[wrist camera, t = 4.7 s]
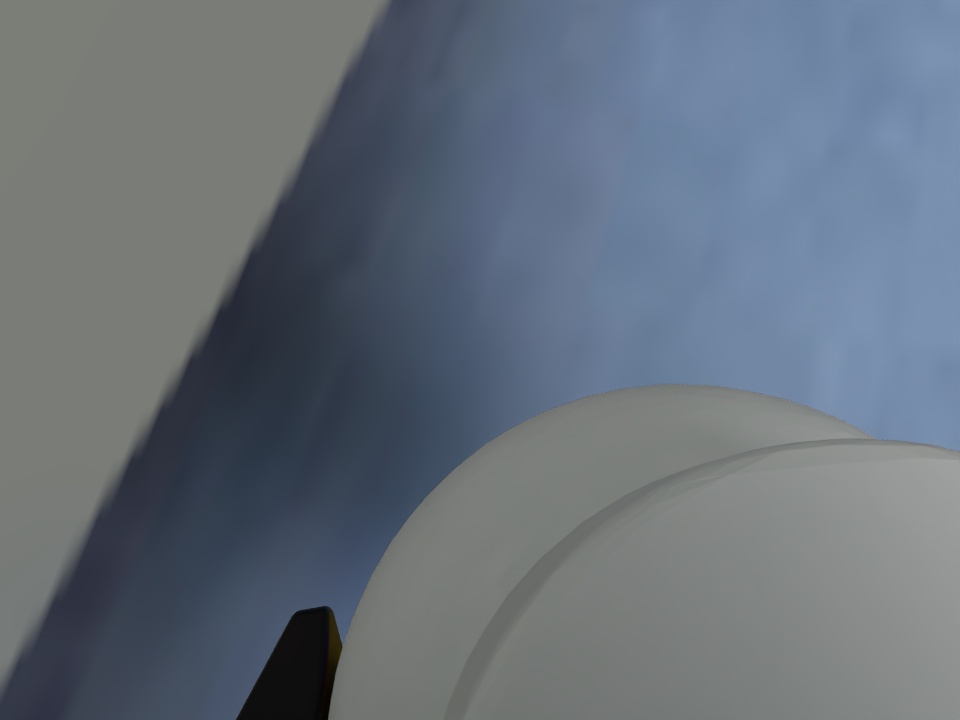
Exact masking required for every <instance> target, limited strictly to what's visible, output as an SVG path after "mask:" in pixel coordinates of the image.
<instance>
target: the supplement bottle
mask: <svg viewBox="0 0 960 720" xmlns="http://www.w3.org/2000/svg"><path fill="white" fill-rule="evenodd" d="M328 720H960V452H959V451H955V450H951V449H947V448H943V447H939V446H935V445H929V444H921V443H913V442H906V441H894V440H877V439H875V438H874V437H872V436H870V435H869V434H867V433H865V432H863V431H862V430H860V429H858V428H856V427H854V426H852V425H850V424H848V423H846V422H844V421H842V420H840V419H838V418H836V417H834V416H831V415H829V414H826V413H823V412H821V411H818V410H816V409H813V408H811V407H808V406H805V405H802V404H799V403H796V402H792V401H789V400H786V399H783V398H778V397H774V396H769V395H765V394H760V393H755V392H750V391H744V390H739V389H733V388H727V387H720V386H709V385H685V384H661V385H652V386H644V387H635V388H626V389H619V390H614V391H610V392H605V393H601V394H597V395H592V396H588V397H584V398H581V399H579V400H576V401H573V402H570V403H567V404H564V405H561V406H558V407H556V408H553V409H550V410H547V411H545V412H543V413H541V414H539V415H537V416H535V417H533V418H530V419H528V420H526V421H524V422H522V423H521V424H519V425H517V426H515V427H513V428H511V429H509V430H507V431H506V432H504V433H503V434H501V435H500V436H498V437H496V438H495V439H493V440H492V441H490V442H488V443H487V444H485V445H484V446H482V447H481V448H480V449H479V450H477V451H476V452H475V453H474V454H472V455H471V456H470V457H469V458H467V459H466V460H465V461H464V462H463V463H461V464H460V465H459V466H458V467H457V468H456V469H454V470H453V471H452V472H451V473H450V474H449V475H448V476H447V477H446V478H445V479H444V480H443V481H442V482H441V483H440V484H439V485H438V486H437V487H436V488H435V489H434V490H433V491H432V492H431V493H430V494H429V495H428V496H427V497H426V498H425V499H424V500H423V501H422V502H421V504H420V505H419V506H418V507H417V508H416V510H415V511H414V512H413V513H412V514H411V516H410V517H409V518H408V520H407V521H406V522H405V524H404V525H403V526H402V528H401V529H400V530H399V532H398V533H397V534H396V536H395V537H394V539H393V540H392V541H391V543H390V545H389V546H388V548H387V550H386V551H385V553H384V555H383V557H382V558H381V560H380V562H379V564H378V565H377V567H376V569H375V570H374V572H373V574H372V576H371V578H370V580H369V582H368V584H367V586H366V589H365V591H364V593H363V595H362V598H361V600H360V602H359V604H358V607H357V609H356V611H355V613H354V616H353V619H352V621H351V624H350V627H349V630H348V632H347V635H346V638H345V641H344V644H343V648H342V652H341V655H340V659H339V663H338V666H337V670H336V675H335V680H334V686H333V691H332V697H331V703H330V710H329V717H328Z"/></svg>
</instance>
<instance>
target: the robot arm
mask: <svg viewBox="0 0 960 720" xmlns="http://www.w3.org/2000/svg"><path fill="white" fill-rule="evenodd" d="M342 648H343V647H342V643H341V639H340V636H339V632H338V628H337V624H336V621H335V617H334V613H333V611H332V609H331V608H330V607H327V606H322V607H317V608H311V609H305V610H300V611H297V612H296V613H295V614H293V616H292V617H291V619H290V621H289V622H288V624H287V626H286V628H285V630H284V632H283V634H282V635H281V637H280V639H279V641H278V643H277V645H276V647H275V648H274V650H273V652H272V654H271V656H270V658H269V660H268V661H267V663H266V665H265V667H264V669H263V671H262V673H261V674H260V676H259V678H258V680H257V682H256V684H255V686H254V687H253V689H252V691H251V693H250V695H249V697H248V698H247V700H246V702H245V704H244V706H243V708H242V710H241V711H240V713H239V715H238V717H237V719H236V720H328V717H329V710H330V703H331V697H332V691H333V686H334V680H335V675H336V670H337V666H338V663H339V659H340V655H341V652H342Z"/></svg>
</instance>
